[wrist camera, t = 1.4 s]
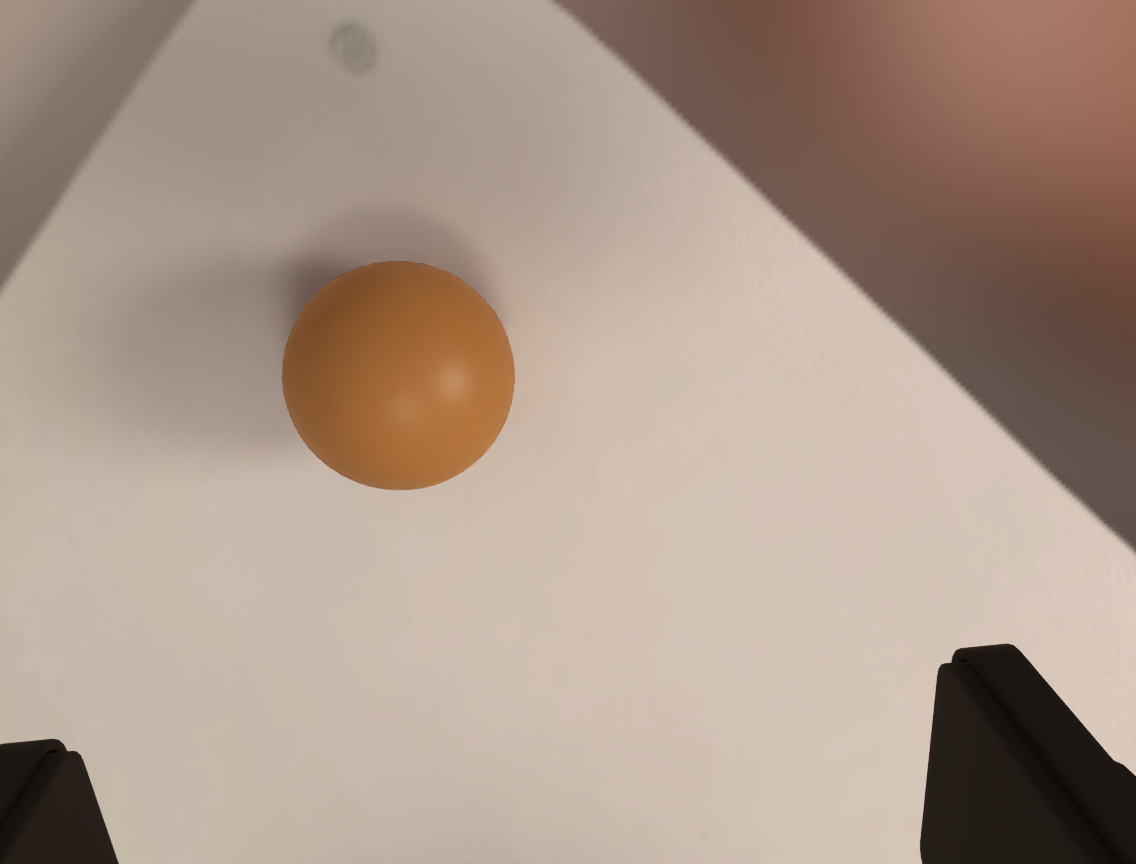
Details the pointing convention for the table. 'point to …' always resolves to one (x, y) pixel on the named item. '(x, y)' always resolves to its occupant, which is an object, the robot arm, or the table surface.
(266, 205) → the table surface
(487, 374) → the orange ball
